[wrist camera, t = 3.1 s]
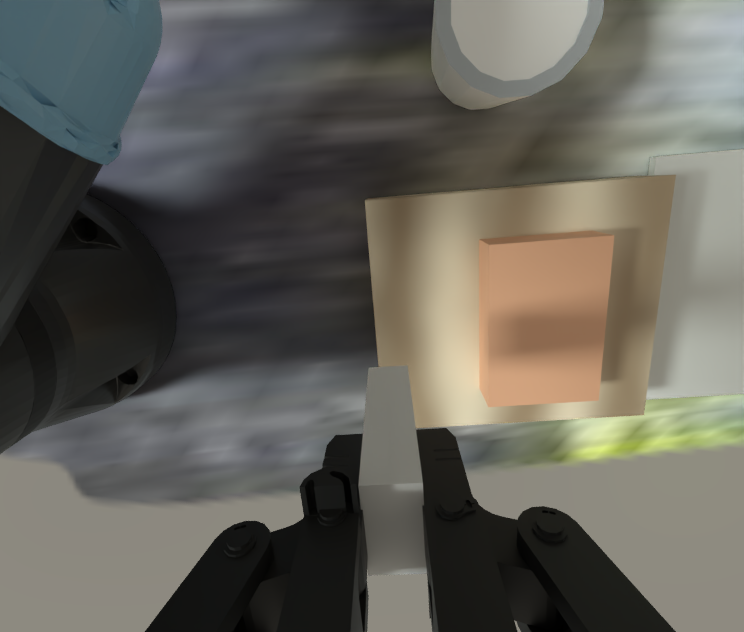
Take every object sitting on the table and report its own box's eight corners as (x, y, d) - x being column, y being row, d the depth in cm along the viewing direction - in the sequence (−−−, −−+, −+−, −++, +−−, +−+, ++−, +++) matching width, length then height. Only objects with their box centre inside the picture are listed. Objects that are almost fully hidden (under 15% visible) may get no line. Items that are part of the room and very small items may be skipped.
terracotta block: (479, 388, 25) (488, 407, 23) (479, 239, 22) (489, 244, 20) (580, 382, 25) (598, 400, 23) (592, 230, 22) (614, 235, 20)
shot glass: (410, 113, 24) (421, 86, 17) (430, -27, 22) (451, -119, 15) (525, 129, 24) (580, 108, 18) (556, -9, 22) (632, -92, 15)
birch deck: (383, 398, 30) (383, 430, 26) (367, 198, 26) (364, 200, 22) (609, 384, 29) (643, 415, 25) (630, 176, 25) (676, 174, 21)
